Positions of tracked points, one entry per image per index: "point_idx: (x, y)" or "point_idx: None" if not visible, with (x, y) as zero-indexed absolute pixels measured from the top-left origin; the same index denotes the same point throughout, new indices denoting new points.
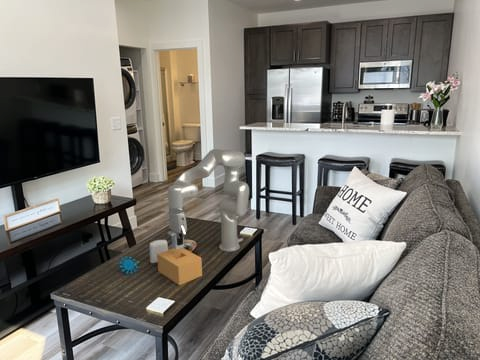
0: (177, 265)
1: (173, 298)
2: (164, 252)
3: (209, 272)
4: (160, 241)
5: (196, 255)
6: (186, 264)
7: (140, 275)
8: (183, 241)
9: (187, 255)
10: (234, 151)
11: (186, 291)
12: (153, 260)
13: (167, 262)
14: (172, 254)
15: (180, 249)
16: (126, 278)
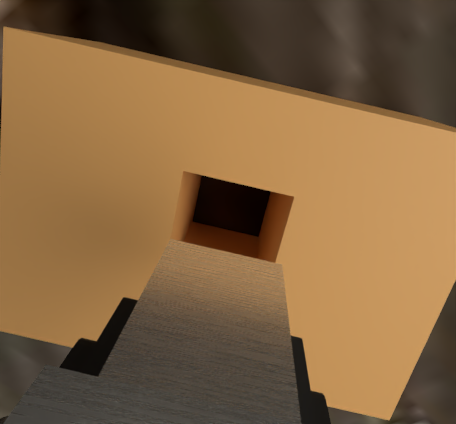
0: (363, 406)
1: (409, 418)
2: (23, 271)
3: (452, 33)
4: None
5: (415, 130)
6: (421, 336)
7: (39, 340)
8: (287, 335)
9: (306, 193)
10: None
11: (438, 337)
12: None
13: None
14: (134, 262)
15: (101, 106)
16: (10, 397)
